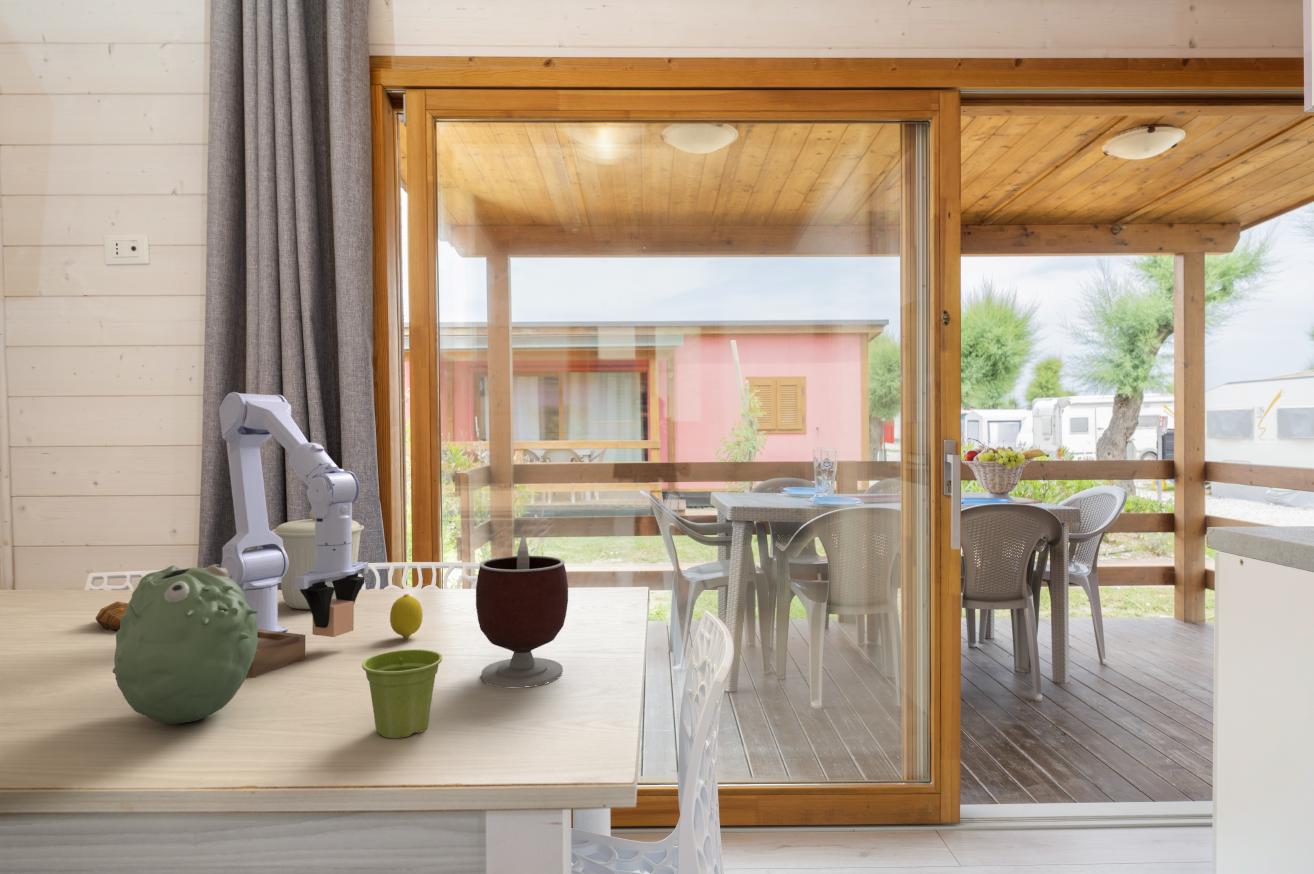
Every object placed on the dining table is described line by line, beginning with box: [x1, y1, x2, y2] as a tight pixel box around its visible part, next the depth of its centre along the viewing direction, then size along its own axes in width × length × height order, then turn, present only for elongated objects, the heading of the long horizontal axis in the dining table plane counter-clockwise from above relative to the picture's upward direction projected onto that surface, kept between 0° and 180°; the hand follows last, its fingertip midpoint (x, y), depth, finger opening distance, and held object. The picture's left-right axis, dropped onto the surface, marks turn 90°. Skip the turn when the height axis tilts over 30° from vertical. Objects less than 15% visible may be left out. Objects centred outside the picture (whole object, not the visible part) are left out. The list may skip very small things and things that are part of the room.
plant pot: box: [361, 648, 443, 739], centre depth 90 cm, size 9×9×9 cm
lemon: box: [389, 593, 424, 640], centre depth 130 cm, size 6×6×8 cm
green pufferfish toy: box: [112, 563, 258, 725], centre depth 93 cm, size 16×19×20 cm
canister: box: [270, 508, 365, 610], centre depth 156 cm, size 18×18×21 cm
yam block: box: [312, 599, 355, 638], centre depth 123 cm, size 4×4×5 cm
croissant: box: [95, 601, 129, 632], centre depth 138 cm, size 14×7×5 cm, turn 54°
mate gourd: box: [475, 535, 569, 688], centre depth 112 cm, size 16×14×20 cm
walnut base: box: [246, 629, 306, 678], centre depth 116 cm, size 10×10×4 cm
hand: (333, 623), depth 123 cm, fingers closed on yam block, 4 cm apart
